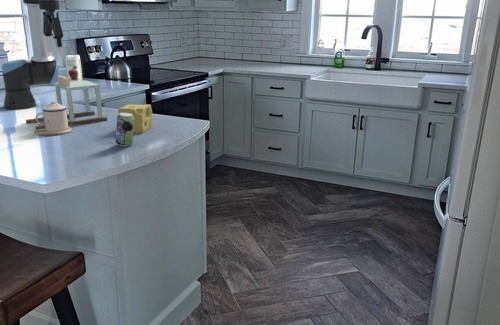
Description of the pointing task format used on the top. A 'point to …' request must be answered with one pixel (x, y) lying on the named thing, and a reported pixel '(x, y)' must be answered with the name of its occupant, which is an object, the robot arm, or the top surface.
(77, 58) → the juice carton
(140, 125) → the cheese
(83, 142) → the top surface
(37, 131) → the trivet
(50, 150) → the top surface
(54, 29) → the robot arm
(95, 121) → the rails
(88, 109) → the small green table
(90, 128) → the top surface
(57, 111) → the teacup with lid
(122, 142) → the beverage can
